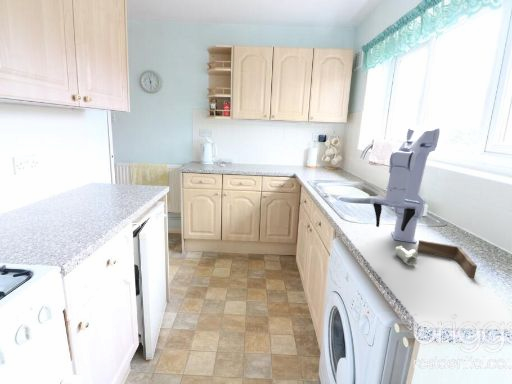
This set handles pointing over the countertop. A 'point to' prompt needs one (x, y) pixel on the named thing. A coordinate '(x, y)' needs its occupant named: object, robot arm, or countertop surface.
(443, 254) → the corner arena
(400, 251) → the pipe fitting
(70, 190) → the countertop surface
